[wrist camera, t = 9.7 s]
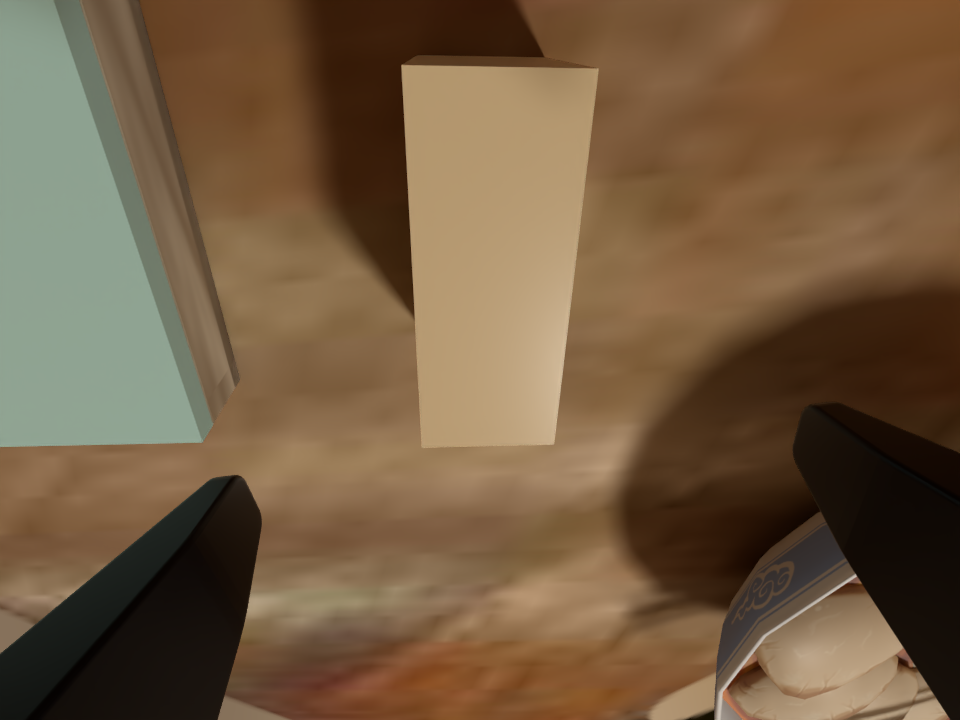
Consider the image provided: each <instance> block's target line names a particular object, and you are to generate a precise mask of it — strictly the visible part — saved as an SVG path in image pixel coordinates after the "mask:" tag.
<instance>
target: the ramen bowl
mask: <svg viewBox="0 0 960 720" xmlns="http://www.w3.org/2000/svg"><path fill="white" fill-rule="evenodd" d="M714 720H950V719H949V717H948V716H947V714H946V713H945V711H944V710H943V708H942V706H941V705H940V703H939V702H938V700H937V699H936V697H935V696H934V694H933V693H932V691H931V690H930V688H929V686H928V685H927V683H926V682H925V680H924V679H923V677H922V676H921V674H920V673H919V671H918V670H917V668H916V666H915V665H914V663H913V662H912V660H911V659H910V657H909V656H908V654H907V653H906V651H905V650H904V648H903V646H902V645H901V643H900V642H899V640H898V639H897V637H896V636H895V634H894V633H893V631H892V630H891V628H890V626H889V625H888V623H887V622H886V620H885V619H884V617H883V616H882V614H881V613H880V611H879V610H878V608H877V606H876V605H875V603H874V602H873V600H872V599H871V597H870V596H869V594H868V593H867V591H866V589H865V588H864V586H863V585H862V583H861V582H860V580H859V579H858V577H857V576H856V574H855V573H854V571H853V569H852V568H851V566H850V565H849V563H848V561H847V560H846V558H845V557H844V555H843V553H842V552H841V550H840V548H839V546H838V544H837V543H836V541H835V539H834V537H833V535H832V533H831V531H830V529H829V527H828V525H827V523H826V521H825V519H824V518H823V516H822V514H821V512H818V513H817V514H815V515H814V516H813V517H811V518H810V519H809V520H807V521H806V522H805V523H803V524H802V525H801V526H799V527H798V528H796V529H795V530H794V531H792V532H791V533H790V534H788V535H787V536H786V537H784V538H783V539H782V540H780V541H779V542H778V543H776V544H775V545H774V546H772V547H771V548H770V549H769V550H768V551H767V552H766V553H765V554H764V555H763V556H762V557H761V558H760V560H759V561H758V563H757V564H756V566H755V567H754V569H753V570H752V572H751V573H750V574H749V576H748V577H747V579H746V580H745V582H744V583H743V585H742V586H741V588H740V589H739V591H738V592H737V594H736V595H735V597H734V598H733V600H732V601H731V604H730V607H729V609H728V612H727V615H726V618H725V621H724V623H723V628H722V633H721V639H720V644H719V650H718V656H717V670H716V686H715V709H714Z"/></svg>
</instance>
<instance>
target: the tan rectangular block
mask: <svg viewBox="0 0 960 720" xmlns="http://www.w3.org/2000/svg"><path fill="white" fill-rule="evenodd" d="M401 67H402V86H403V105H404V123H405V142H406V161H407V180H408V199H409V217H410V236H411V255H412V274H413V293H414V311H415V330H416V349H417V368H418V387H419V405H420V424H421V443H422V448H426V447H470V446H513V445H554V440H555V432H556V423H557V415H558V406H559V398H560V390H561V381H562V373H563V364H564V356H565V348H566V339H567V331H568V322H569V314H570V306H571V297H572V289H573V280H574V272H575V263H576V255H577V247H578V238H579V230H580V221H581V213H582V205H583V196H584V188H585V179H586V171H587V163H588V154H589V146H590V137H591V129H592V121H593V112H594V104H595V95H596V87H597V79H598V70H599V69H598V68H594V67H589V66H584V65H579V64H574V63H570V62H565V61H560V60H555V59H550V58H545V57H499V56H445V55H417V56H415V57H413V58H412V59H410V60H409V61H407V62H406V63H404V64H402V65H401Z"/></svg>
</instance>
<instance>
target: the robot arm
mask: <svg viewBox="0 0 960 720" xmlns="http://www.w3.org/2000/svg"><path fill="white" fill-rule="evenodd" d="M793 457H794V460H795V463H796V465H797V467H798V469H799V471H800V473H801V475H802V477H803V478H804V480H805V482H806V484H807V486H808V488H809V490H810V492H811V494H812V496H813V498H814V500H815V502H816V504H817V506H818V508H819V510H820V512H821V514H822V516H823V518H824V519H825V521H826V523H827V525H828V527H829V529H830V531H831V533H832V535H833V537H834V539H835V541H836V543H837V544H838V546H839V548H840V550H841V552H842V553H843V555H844V557H845V558H846V560H847V561H848V563H849V565H850V566H851V568H852V569H853V571H854V573H855V574H856V576H857V577H858V579H859V580H860V582H861V583H862V585H863V586H864V588H865V589H866V591H867V593H868V594H869V596H870V597H871V599H872V600H873V602H874V603H875V605H876V606H877V608H878V610H879V611H880V613H881V614H882V616H883V617H884V619H885V620H886V622H887V623H888V625H889V626H890V628H891V630H892V631H893V633H894V634H895V636H896V637H897V639H898V640H899V642H900V643H901V645H902V646H903V648H904V650H905V651H906V653H907V654H908V656H909V657H910V659H911V660H912V662H913V663H914V665H915V666H916V668H917V670H918V671H919V673H920V674H921V676H922V677H923V679H924V680H925V682H926V683H927V685H928V686H929V688H930V690H931V691H932V693H933V694H934V696H935V697H936V699H937V700H938V702H939V703H940V705H941V706H942V708H943V710H944V711H945V713H946V714H947V716H948V717H949V719H950V720H960V453H958V452H956V451H953V450H951V449H949V448H946V447H944V446H941V445H939V444H937V443H934V442H932V441H929V440H927V439H925V438H922V437H920V436H917V435H915V434H913V433H910V432H908V431H905V430H903V429H901V428H898V427H896V426H893V425H891V424H889V423H886V422H884V421H881V420H879V419H877V418H874V417H872V416H870V415H867V414H865V413H862V412H860V411H858V410H855V409H853V408H850V407H848V406H846V405H843V404H841V403H838V402H825V403H817V404H810V405H808V406H806V407H805V408H804V409H803V411H802V413H801V417H800V420H799V424H798V428H797V432H796V435H795V439H794V443H793ZM261 527H262V518H261V513H260V510H259V508H258V506H257V504H256V502H255V500H254V498H253V495H252V493H251V491H250V489H249V487H248V485H247V483H246V481H245V480H244V478H242V477H241V476H239V475H231V476H223V477H216V478H212V479H210V480H209V481H208V482H206V483H205V484H204V485H203V486H202V487H200V488H199V489H198V490H197V491H196V492H194V493H193V494H192V495H191V496H190V497H188V498H187V499H186V500H185V501H184V502H182V503H181V504H180V505H179V506H178V507H176V508H175V509H174V510H173V511H172V512H170V513H169V514H168V515H167V516H165V517H164V518H163V519H162V520H161V521H159V522H158V523H157V524H156V525H155V526H153V527H152V528H151V529H150V530H149V531H147V532H146V533H145V534H144V535H143V536H141V537H140V538H139V539H138V540H137V541H135V542H134V543H133V544H132V545H131V546H129V547H128V548H127V549H126V550H125V551H123V552H122V553H121V554H120V555H119V556H117V557H116V558H115V559H114V560H113V561H111V562H110V563H109V564H108V565H106V566H105V567H104V568H103V569H102V570H100V571H99V572H98V573H97V574H96V575H94V576H93V577H92V578H91V579H90V580H88V581H87V582H86V583H85V584H84V585H82V586H81V587H80V588H79V589H78V590H76V591H75V592H74V593H73V594H72V595H70V596H69V597H68V598H67V599H66V600H64V601H63V602H62V603H61V604H59V605H58V606H57V607H56V608H55V609H53V610H52V611H51V612H50V613H49V614H47V615H46V616H45V617H44V618H43V619H41V620H40V621H39V622H38V623H37V624H35V625H34V626H33V627H32V628H31V629H29V630H28V631H27V632H26V633H25V634H23V635H22V636H21V637H20V638H19V639H17V640H16V641H15V642H14V643H13V644H11V645H10V646H9V647H8V648H7V649H5V650H4V651H3V652H2V653H1V654H0V720H218V716H219V713H220V709H221V706H222V702H223V699H224V695H225V692H226V688H227V685H228V681H229V678H230V674H231V671H232V667H233V664H234V660H235V656H236V653H237V649H238V646H239V642H240V639H241V635H242V631H243V627H244V623H245V618H246V613H247V608H248V603H249V597H250V591H251V585H252V579H253V574H254V568H255V562H256V556H257V550H258V545H259V539H260V533H261Z"/></svg>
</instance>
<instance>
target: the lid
mask: <svg viewBox="0 0 960 720" xmlns="http://www.w3.org/2000/svg"><path fill="white" fill-rule="evenodd" d="M212 426H213V423H212V420H211V416H210V413H209V410H208V407H207V404H206V401H205V397H204V394H203V391H202V388H201V385H200V382H199V378H198V375H197V372H196V369H195V366H194V363H193V359H192V356H191V353H190V350H189V347H188V344H187V341H186V337H185V334H184V331H183V328H182V325H181V322H180V318H179V315H178V312H177V309H176V306H175V303H174V299H173V296H172V293H171V290H170V287H169V284H168V280H167V277H166V274H165V271H164V268H163V265H162V261H161V258H160V255H159V252H158V249H157V246H156V242H155V239H154V236H153V233H152V230H151V227H150V224H149V220H148V217H147V214H146V211H145V208H144V205H143V201H142V198H141V195H140V192H139V189H138V186H137V182H136V179H135V176H134V173H133V170H132V167H131V163H130V160H129V157H128V154H127V151H126V148H125V144H124V141H123V138H122V135H121V132H120V129H119V125H118V122H117V119H116V116H115V113H114V110H113V107H112V103H111V100H110V97H109V94H108V91H107V88H106V84H105V81H104V78H103V75H102V72H101V69H100V65H99V62H98V59H97V56H96V53H95V50H94V46H93V43H92V40H91V37H90V34H89V31H88V27H87V24H86V21H85V18H84V15H83V12H82V8H81V5H80V2H79V0H0V447H14V446H61V445H108V444H154V443H201V442H203V441H204V439H205V438H206V436H207V434H208V433H209V431H210V429H211V428H212Z"/></svg>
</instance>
